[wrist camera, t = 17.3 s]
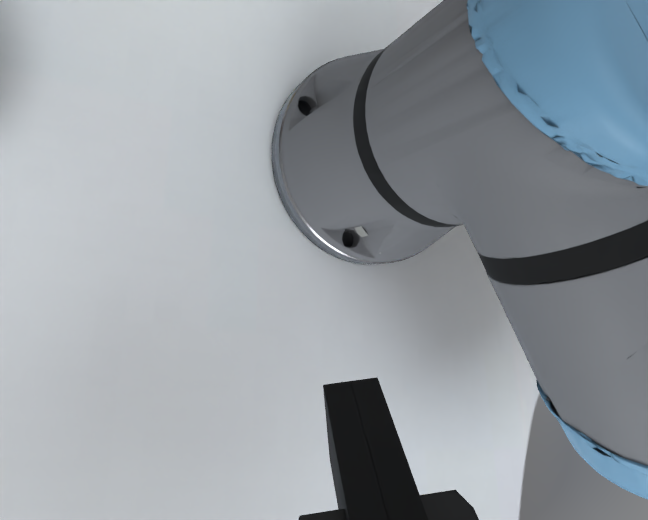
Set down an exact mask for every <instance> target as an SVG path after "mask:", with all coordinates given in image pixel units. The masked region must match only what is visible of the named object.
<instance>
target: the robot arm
mask: <svg viewBox="0 0 648 520" xmlns="http://www.w3.org/2000/svg"><path fill="white" fill-rule="evenodd" d="M272 164H273V172H274V177H275V182H276V185H277V189H278V192H279V195H280V197H281V200H282V202H283V204H284V206H285V208H286V210H287V212H288V213H289V215H290V217H291V218H292V220H293V221H294V223H295V224H296V225H297V227H298V228H299V229H300V230H301V231H302V232H303V234H304V235H305V236H306V237H307V238H308V239H310V240H311V241H312V242H313V243H314V244H315V245H317V246H318V247H319V248H321V249H322V250H324V251H326V252H327V253H329V254H331V255H333V256H335V257H337V258H339V259H342V260H345V261H348V262H353V263H358V264H382V263H392V262H397V261H401V260H404V259H407V258H410V257H412V256H414V255H416V254H418V253H420V252H421V251H423V250H424V249H426V248H427V247H429V246H430V245H431V244H433V243H434V242H435V241H437V240H438V239H439V238H441V237H442V236H443V235H445V234H446V233H447V232H449V231H450V230H451V229H453V228H454V227H455V226H458V225H463V224H464V226H465V228H466V230H467V232H468V234H469V236H470V238H471V240H472V242H473V244H474V246H475V248H476V250H477V252H478V254H479V256H480V259H481V261H482V263H483V265H484V267H485V269H486V272H487V275H488V277H489V279H490V281H491V283H492V285H493V287H494V290H495V292H496V294H497V296H498V298H499V300H500V302H501V304H502V306H503V309H504V311H505V313H506V315H507V317H508V319H509V321H510V323H511V325H512V328H513V330H514V332H515V334H516V336H517V338H518V340H519V342H520V344H521V347H522V349H523V351H524V353H525V355H526V357H527V359H528V361H529V364H530V366H531V368H532V370H533V372H534V374H535V376H536V378H537V387H538V390H539V392H540V394H541V397H542V399H543V400H544V402H545V404H546V406H547V407H548V409H549V410H550V412H551V413H552V414H553V415H554V416H555V417H556V418H557V420H558V421H559V423H560V424H561V426H562V428H563V430H564V432H565V434H566V435H567V437H568V439H569V441H570V442H571V444H572V446H573V447H574V448H575V450H576V451H577V452H578V453H579V455H580V456H581V457H582V458H583V459H585V461H586V462H587V463H588V464H589V465H590V466H591V467H592V468H594V470H595V471H597V472H598V473H599V474H601V475H602V476H603V477H605V478H606V479H608V480H609V481H611V482H613V483H614V484H616V485H618V486H619V487H621V488H623V489H625V490H627V491H629V492H631V493H634V494H636V495H638V496H640V497H643V498H646V499H648V0H443V1H442V2H441V3H440V4H439V5H437V6H436V7H435V8H434V9H432V10H431V11H430V12H429V13H428V14H426V15H425V16H424V17H423V18H422V19H420V20H419V21H418V22H417V23H415V24H414V25H413V26H412V27H411V28H409V29H408V30H407V31H406V32H405V33H403V34H402V35H401V36H400V37H398V38H397V39H396V40H395V41H394V42H392V43H391V44H390V45H389V46H388V47H386V48H385V49H382V50H377V51H372V52H367V53H362V54H357V55H352V56H347V57H343V58H339V59H336V60H333V61H331V62H328V63H326V64H325V65H323V66H321V67H319V68H318V69H316V70H315V71H314V72H312V73H311V74H310V75H309V76H308V77H307V78H306V79H305V80H304V81H303V82H302V83H301V84H300V85H299V86H298V87H297V88H296V89H295V90H294V91H293V92H292V93H291V95H290V96H289V97H288V99H287V100H286V102H285V104H284V106H283V107H282V109H281V112H280V114H279V116H278V119H277V122H276V126H275V130H274V135H273V142H272ZM323 388H324V399H325V410H326V421H327V432H328V443H329V454H330V463H331V468H332V474H333V480H334V486H335V491H336V497H337V503H338V509H339V510H333V511H327V512H320V513H314V514H308V515H301V516H300V517H299V520H479V519H478V517H477V515H476V513H475V510H474V508H473V507H472V506H471V505H470V504H469V503H468V502H467V501H466V500H465V499H464V498H463V497H462V496H461V495H460V494H459V493H458V492H457V491H456V490H451V491H445V492H438V493H432V494H426V495H419V492H418V490H417V487H416V484H415V481H414V478H413V476H412V473H411V470H410V467H409V464H408V462H407V459H406V456H405V453H404V451H403V448H402V445H401V442H400V439H399V437H398V434H397V431H396V428H395V425H394V423H393V420H392V417H391V414H390V411H389V409H388V406H387V403H386V400H385V398H384V395H383V392H382V389H381V386H380V384H379V381H378V378H370V379H363V380H356V381H349V382H341V383H334V384H327V385H323Z"/></svg>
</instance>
